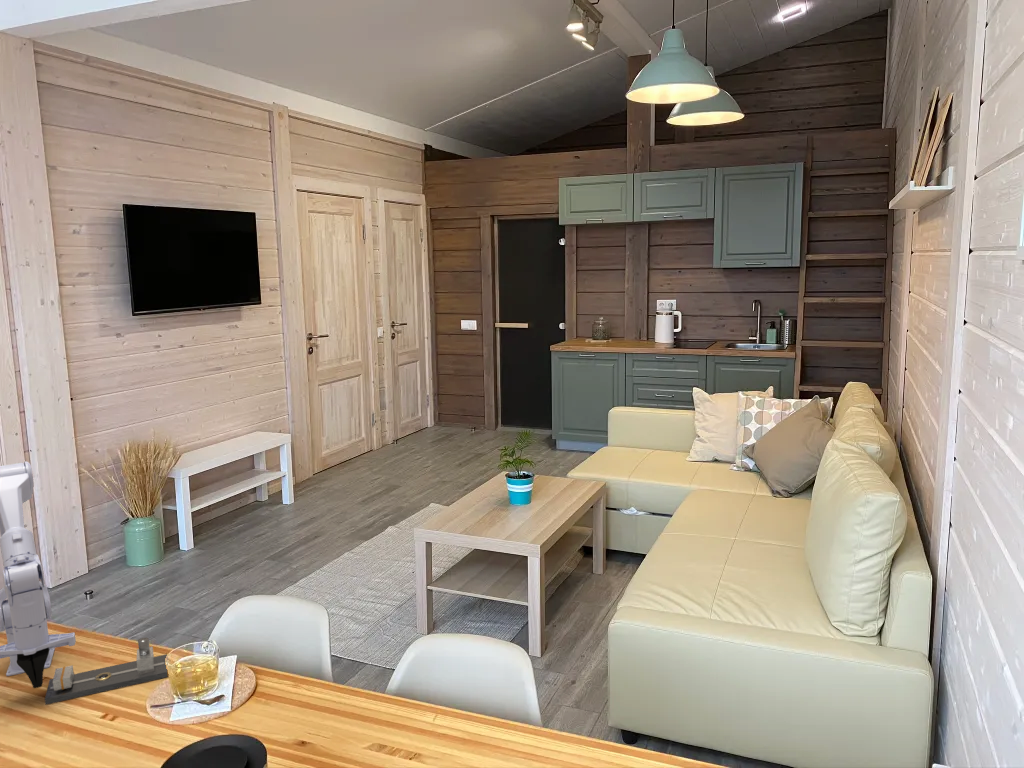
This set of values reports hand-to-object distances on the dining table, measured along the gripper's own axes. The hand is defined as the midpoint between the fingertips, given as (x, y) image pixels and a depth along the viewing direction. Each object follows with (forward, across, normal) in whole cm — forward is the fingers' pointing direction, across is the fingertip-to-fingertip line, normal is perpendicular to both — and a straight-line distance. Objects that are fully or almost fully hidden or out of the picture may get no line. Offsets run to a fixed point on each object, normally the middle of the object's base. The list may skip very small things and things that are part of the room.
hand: (38, 685), depth 152 cm
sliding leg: (+1, +5, 0) cm, 5 cm away
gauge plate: (+2, +12, 0) cm, 13 cm away
